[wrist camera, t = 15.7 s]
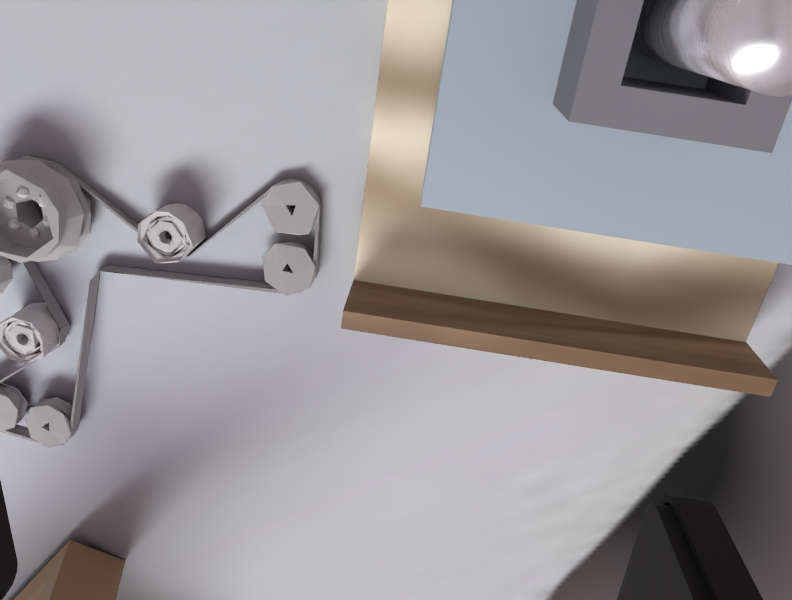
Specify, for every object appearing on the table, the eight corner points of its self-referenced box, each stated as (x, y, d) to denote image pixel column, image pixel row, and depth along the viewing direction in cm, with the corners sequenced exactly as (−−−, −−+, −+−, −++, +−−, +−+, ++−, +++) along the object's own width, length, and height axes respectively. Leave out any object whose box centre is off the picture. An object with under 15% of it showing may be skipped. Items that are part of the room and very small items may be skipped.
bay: (410, -163, 30) (403, -195, 25) (903, -88, 29) (996, -105, 24) (355, 285, 39) (341, 328, 34) (729, 344, 39) (770, 396, 34)
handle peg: (640, -33, 24) (754, -50, 15) (721, -21, 24) (886, -30, 15) (617, 53, 25) (710, 86, 16) (695, 65, 25) (831, 105, 16)
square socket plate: (468, -100, 29) (475, -141, 20) (837, -43, 29) (1014, -59, 20) (424, 173, 34) (414, 238, 25) (737, 222, 34) (842, 306, 25)
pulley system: (-123, 279, 42) (41, 453, 46) (-189, 306, 38) (-2, 495, 42) (201, 16, 35) (363, 247, 39) (166, 12, 31) (352, 272, 35)
